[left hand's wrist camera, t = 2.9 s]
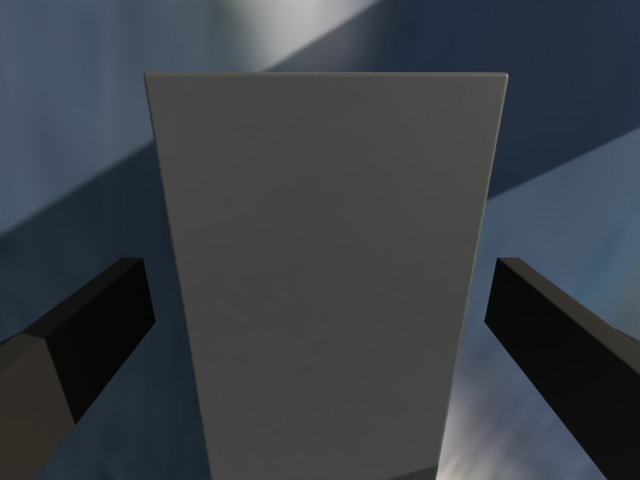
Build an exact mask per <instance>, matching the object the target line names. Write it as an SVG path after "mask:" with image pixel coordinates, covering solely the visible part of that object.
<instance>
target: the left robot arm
mask: <svg viewBox="0 0 640 480" xmlns="http://www.w3.org/2000/svg"><path fill="white" fill-rule="evenodd" d="M155 322H156V321H155V316H154V311H153V306H152V301H151V296H150V291H149V286H148V281H147V276H146V271H145V267H144V262H143V258H121V259H119V260H118V261H117V262H115V263H114V264H113V265H111V266H110V267H108V268H107V269H106V270H104V271H103V272H102V273H100V274H99V275H98V276H96V277H95V278H94V279H92V280H91V281H89V282H88V283H87V284H85V285H84V286H83V287H81V288H80V289H79V290H77V291H76V292H75V293H73V294H72V295H71V296H69V297H68V298H66V299H65V300H64V301H62V302H61V303H60V304H58V305H57V306H56V307H54V308H53V309H52V310H50V311H49V312H48V313H46V314H45V315H43V316H42V317H41V318H39V319H38V320H37V321H35V322H34V323H33V324H31V325H30V326H29V327H27V328H26V329H24V330H23V331H22V332H20V333H18V334H16V335H14V336H12V337H10V338H8V339H6V340H4V341H2V342H0V480H33V479H34V477H35V476H36V475H37V473H38V472H39V471H40V470H41V468H42V467H43V466H44V464H45V463H46V462H47V461H48V459H49V458H50V457H51V455H52V454H53V453H54V452H55V450H56V449H57V448H58V447H59V445H60V444H61V443H62V441H63V440H64V439H65V438H66V436H67V435H68V434H69V432H70V431H71V430H72V429H73V427H74V426H75V425H76V423H77V422H78V421H79V420H80V418H81V417H82V416H83V414H84V413H85V412H86V411H87V409H88V408H89V407H90V405H91V404H92V403H93V402H94V400H95V399H96V398H97V397H98V395H99V394H100V393H101V391H102V390H103V389H104V388H105V386H106V385H107V384H108V382H109V381H110V380H111V379H112V377H113V376H114V375H115V373H116V372H117V371H118V370H119V368H120V367H121V366H122V364H123V363H124V362H125V361H126V359H127V358H128V357H129V355H130V354H131V353H132V352H133V350H134V349H135V348H136V347H137V345H138V344H139V343H140V341H141V340H142V339H143V338H144V336H145V335H146V334H147V332H148V331H149V330H150V329H151V327H152V326H153V325H154V323H155ZM484 322H485V323H486V325H487V326H488V327H489V329H490V330H491V331H492V332H493V334H494V335H495V336H496V338H497V339H498V340H499V341H500V343H501V344H502V345H503V347H504V348H505V349H506V350H507V352H508V353H509V354H510V355H511V357H512V358H513V359H514V361H515V362H516V363H517V364H518V366H519V367H520V368H521V370H522V371H523V372H524V373H525V375H526V376H527V377H528V379H529V380H530V381H531V382H532V384H533V385H534V386H535V388H536V389H537V390H538V391H539V393H540V394H541V395H542V397H543V398H544V399H545V400H546V402H547V403H548V404H549V405H550V407H551V408H552V409H553V411H554V412H555V413H556V414H557V416H558V417H559V418H560V420H561V421H562V422H563V423H564V425H565V426H566V427H567V429H568V430H569V431H570V432H571V434H572V435H573V436H574V438H575V439H576V440H577V441H578V443H579V444H580V445H581V447H582V448H583V449H584V450H585V452H586V453H587V454H588V455H589V457H590V458H591V459H592V461H593V462H594V463H595V464H596V466H597V467H598V468H599V470H600V471H601V472H602V473H603V475H604V476H605V477H606V479H607V480H640V340H638V339H635V338H633V337H631V336H629V335H627V334H625V333H623V332H621V331H619V330H617V329H614V328H613V327H611V326H610V325H609V324H607V323H606V322H605V321H603V320H602V319H601V318H599V317H598V316H597V315H595V314H594V313H593V312H591V311H590V310H588V309H587V308H586V307H584V306H583V305H582V304H580V303H579V302H578V301H576V300H575V299H574V298H572V297H571V296H569V295H568V294H567V293H565V292H564V291H563V290H561V289H560V288H559V287H557V286H556V285H555V284H553V283H552V282H551V281H549V280H548V279H546V278H545V277H544V276H542V275H541V274H540V273H538V272H537V271H536V270H534V269H533V268H532V267H530V266H529V265H528V264H526V263H525V262H523V261H522V260H521V259H519V258H497V262H496V267H495V272H494V276H493V281H492V286H491V291H490V296H489V301H488V306H487V311H486V316H485V321H484Z"/></svg>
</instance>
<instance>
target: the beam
mask: <svg viewBox="0 0 640 480" xmlns="http://www.w3.org/2000/svg"><path fill="white" fill-rule="evenodd" d="M508 78H509V77H508V74H507V73H505V72H147V73H145V74H144V83H145V89H146V94H147V100H148V106H149V112H150V118H151V124H152V130H153V136H154V142H155V148H156V153H157V159H158V165H159V171H160V177H161V183H162V189H163V195H164V201H165V207H166V212H167V218H168V224H169V230H170V236H171V242H172V248H173V254H174V260H175V266H176V271H177V277H178V283H179V289H180V295H181V301H182V307H183V313H184V319H185V325H186V330H187V336H188V342H189V348H190V354H191V360H192V366H193V372H194V378H195V384H196V389H197V395H198V401H199V407H200V413H201V419H202V425H203V431H204V437H205V443H206V448H207V454H208V460H209V466H210V472H211V478H212V480H436V475H437V470H438V464H439V459H440V453H441V448H442V442H443V437H444V431H445V426H446V420H447V415H448V409H449V403H450V398H451V392H452V387H453V381H454V376H455V370H456V365H457V359H458V354H459V348H460V343H461V337H462V332H463V326H464V321H465V315H466V310H467V304H468V299H469V293H470V287H471V282H472V276H473V271H474V265H475V260H476V254H477V249H478V243H479V238H480V232H481V227H482V221H483V216H484V210H485V205H486V199H487V194H488V188H489V183H490V177H491V171H492V166H493V160H494V155H495V149H496V144H497V138H498V133H499V127H500V122H501V116H502V111H503V105H504V100H505V94H506V89H507V83H508Z"/></svg>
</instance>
